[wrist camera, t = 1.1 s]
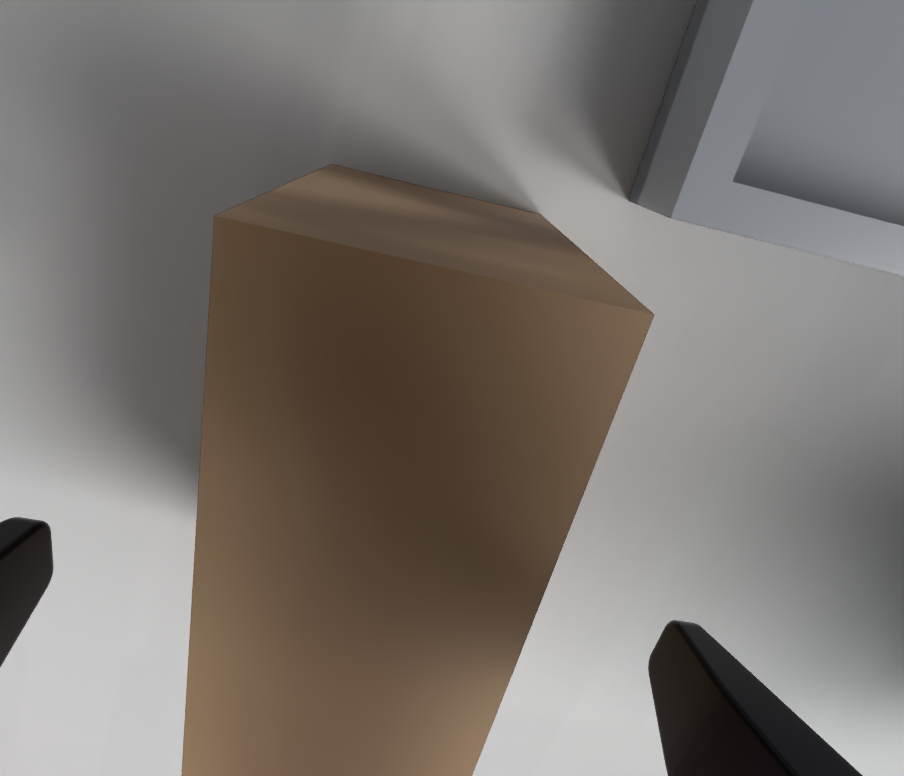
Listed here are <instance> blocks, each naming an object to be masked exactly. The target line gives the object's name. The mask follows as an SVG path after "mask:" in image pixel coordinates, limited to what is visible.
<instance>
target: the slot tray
mask: <svg viewBox="0 0 904 776" xmlns="http://www.w3.org/2000/svg"><path fill="white" fill-rule="evenodd" d="M628 201H630V202H633V203H635V204H638V205H640V206H642V207H645V208H647V209H650V210H652V211H654V212H657V213H659V214H662V215H664V216H667V217H669V218H672V219H676V220H680V221H684V222H688V223H692V224H696V225H700V226H704V227H708V228H712V229H716V230H720V231H724V232H728V233H732V234H736V235H740V236H744V237H748V238H752V239H756V240H760V241H764V242H768V243H773V244H777V245H781V246H785V247H789V248H793V249H797V250H801V251H805V252H809V253H813V254H817V255H821V256H825V257H829V258H833V259H837V260H841V261H845V262H849V263H853V264H857V265H861V266H865V267H869V268H873V269H877V270H881V271H885V272H889V273H893V274H897V275H901V276H904V0H697V3H696V6H695V9H694V12H693V14H692V17H691V20H690V23H689V26H688V29H687V32H686V35H685V38H684V40H683V43H682V46H681V49H680V52H679V55H678V58H677V61H676V64H675V66H674V69H673V72H672V75H671V78H670V81H669V84H668V87H667V90H666V92H665V95H664V98H663V101H662V104H661V107H660V110H659V113H658V116H657V118H656V121H655V124H654V127H653V130H652V133H651V136H650V139H649V142H648V145H647V147H646V150H645V153H644V156H643V159H642V162H641V165H640V168H639V171H638V173H637V176H636V179H635V182H634V185H633V188H632V191H631V194H630V197H629V199H628Z"/></svg>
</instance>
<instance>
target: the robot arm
mask: <svg viewBox="0 0 904 776" xmlns="http://www.w3.org/2000/svg"><path fill="white" fill-rule="evenodd" d="M52 574H53V554H52V540H51V530H50V527H49V525H48V524H47V523H46V522H44V521H40V520H33V519H27V518H20V517H14V518H10V519H7V520H5V521H2V522H0V667H1V665H2V664H3V662H4V660H5V659H6V657H7V655H8V653H9V652H10V650H11V648H12V647H13V645H14V643H15V641H16V640H17V638H18V636H19V635H20V633H21V631H22V630H23V628H24V626H25V624H26V623H27V621H28V619H29V618H30V616H31V614H32V612H33V611H34V609H35V607H36V606H37V604H38V602H39V600H40V599H41V597H42V595H43V594H44V592H45V590H46V589H47V587H48V585H49V583H50V580H51V577H52ZM648 670H649V677H650V683H651V688H652V694H653V699H654V705H655V710H656V716H657V721H658V727H659V732H660V737H661V743H662V748H663V754H664V759H665V764H666V769H667V773H668V776H862V775H861V774H860V773H859V772H858V771H857V770H856V769H855V768H854V767H853V766H852V765H850V764H849V763H848V762H847V761H846V760H845V759H844V758H843V757H842V756H841V755H840V754H838V753H837V752H836V751H835V750H834V749H833V748H832V747H831V746H830V745H829V744H828V743H827V742H825V741H824V740H823V739H822V738H821V737H820V736H819V735H818V734H817V733H816V732H815V731H814V730H812V729H811V728H810V727H809V726H808V725H807V724H806V723H805V722H804V721H803V720H802V719H801V718H799V717H798V716H797V715H796V714H795V713H794V712H793V711H792V710H791V709H790V708H789V707H788V706H786V705H785V704H784V703H783V702H782V701H781V700H780V699H779V698H778V697H777V696H776V695H775V694H773V693H772V692H771V691H770V690H769V689H768V688H767V687H766V686H765V685H764V684H763V683H761V682H760V681H759V680H758V679H757V678H756V677H755V676H754V675H753V674H752V673H751V672H750V671H748V670H747V669H746V668H745V667H744V666H743V665H742V664H741V663H740V662H739V661H738V660H737V659H735V658H734V657H733V656H732V655H731V654H730V653H729V652H728V651H727V650H726V649H725V648H724V647H722V646H721V645H720V644H719V643H718V642H717V641H716V640H715V639H714V638H713V637H712V636H711V635H709V634H708V633H707V632H706V631H705V630H704V629H703V628H702V627H701V626H699V625H697V624H695V623H690V622H684V621H677V620H673V621H671V622H669V623H668V624H667V625H666V627H665V629H664V630H663V632H662V634H661V636H660V638H659V640H658V642H657V644H656V646H655V648H654V649H653V651H652V653H651V656H650V659H649V665H648Z"/></svg>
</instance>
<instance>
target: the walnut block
mask: <svg viewBox="0 0 904 776" xmlns="http://www.w3.org/2000/svg"><path fill="white" fill-rule="evenodd" d="M653 317H654V314H653V313H652V312H651V311H650V310H649V309H647V308H646V307H645V306H644V305H643V304H642V303H641V302H640V301H638V300H637V299H636V298H635V297H634V296H633V295H632V294H630V293H629V292H628V291H627V290H626V289H625V288H624V287H623V286H621V285H620V284H619V283H618V282H617V281H616V280H615V279H613V278H612V277H611V276H610V275H609V274H608V273H607V272H605V271H604V270H603V269H602V268H601V267H600V266H599V265H598V264H596V263H595V262H594V261H593V260H592V259H591V258H590V257H588V256H587V255H586V254H585V253H584V252H583V251H582V250H581V249H579V248H578V247H577V246H576V245H575V244H574V243H573V242H571V241H570V240H569V239H568V238H567V237H566V236H565V235H564V234H562V233H561V232H560V231H559V230H558V229H557V228H556V227H554V226H553V225H552V224H551V223H550V222H549V221H548V220H546V219H545V218H544V217H543V216H542V215H539V214H535V213H531V212H527V211H523V210H519V209H514V208H510V207H506V206H502V205H498V204H494V203H490V202H486V201H481V200H477V199H473V198H469V197H465V196H461V195H457V194H452V193H448V192H444V191H440V190H436V189H432V188H428V187H423V186H419V185H415V184H411V183H407V182H403V181H399V180H395V179H390V178H386V177H382V176H378V175H374V174H370V173H366V172H361V171H357V170H353V169H349V168H345V167H341V166H337V165H332V164H330V165H328V166H326V167H323V168H321V169H319V170H317V171H314V172H312V173H310V174H308V175H305V176H303V177H301V178H299V179H296V180H294V181H292V182H289V183H287V184H285V185H283V186H280V187H278V188H276V189H274V190H271V191H269V192H267V193H264V194H262V195H260V196H258V197H255V198H253V199H251V200H249V201H246V202H244V203H242V204H240V205H237V206H235V207H233V208H230V209H228V210H226V211H224V212H221V213H219V214H217V215H215V216H214V230H213V247H212V264H211V281H210V298H209V315H208V333H207V350H206V367H205V384H204V401H203V418H202V435H201V452H200V469H199V486H198V503H197V520H196V537H195V554H194V571H193V589H192V606H191V623H190V640H189V657H188V674H187V691H186V708H185V725H184V742H183V759H182V776H472V774H473V772H474V769H475V767H476V764H477V762H478V759H479V757H480V754H481V752H482V749H483V747H484V744H485V742H486V739H487V736H488V734H489V731H490V729H491V726H492V724H493V721H494V719H495V716H496V714H497V711H498V709H499V706H500V704H501V701H502V699H503V696H504V693H505V691H506V688H507V686H508V683H509V681H510V678H511V676H512V673H513V671H514V668H515V666H516V663H517V661H518V658H519V656H520V653H521V651H522V648H523V645H524V643H525V640H526V638H527V635H528V633H529V630H530V628H531V625H532V623H533V620H534V618H535V615H536V613H537V610H538V608H539V605H540V603H541V600H542V597H543V595H544V592H545V590H546V587H547V585H548V582H549V580H550V577H551V575H552V572H553V570H554V567H555V565H556V562H557V560H558V557H559V554H560V552H561V549H562V547H563V544H564V542H565V539H566V537H567V534H568V532H569V529H570V527H571V524H572V522H573V519H574V517H575V514H576V512H577V509H578V506H579V504H580V501H581V499H582V496H583V494H584V491H585V489H586V486H587V484H588V481H589V479H590V476H591V474H592V471H593V469H594V466H595V464H596V461H597V458H598V456H599V453H600V451H601V448H602V446H603V443H604V441H605V438H606V436H607V433H608V431H609V428H610V426H611V423H612V421H613V418H614V415H615V413H616V410H617V408H618V405H619V403H620V400H621V398H622V395H623V393H624V390H625V388H626V385H627V383H628V380H629V378H630V375H631V373H632V370H633V367H634V365H635V362H636V360H637V357H638V355H639V352H640V350H641V347H642V345H643V342H644V340H645V337H646V335H647V332H648V330H649V327H650V325H651V322H652V319H653Z"/></svg>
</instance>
